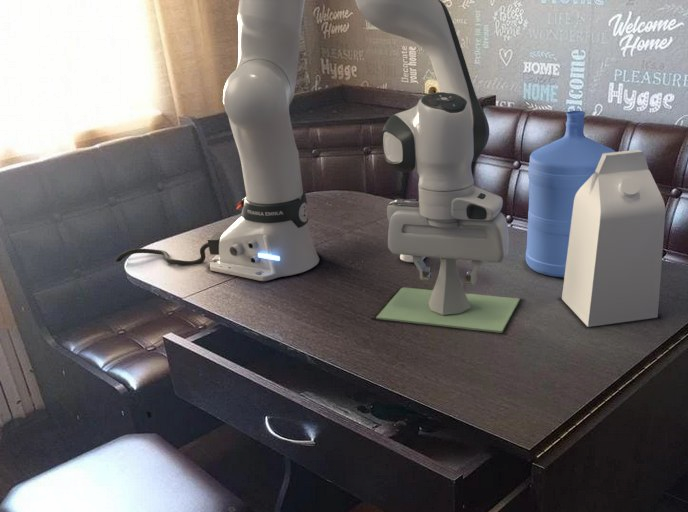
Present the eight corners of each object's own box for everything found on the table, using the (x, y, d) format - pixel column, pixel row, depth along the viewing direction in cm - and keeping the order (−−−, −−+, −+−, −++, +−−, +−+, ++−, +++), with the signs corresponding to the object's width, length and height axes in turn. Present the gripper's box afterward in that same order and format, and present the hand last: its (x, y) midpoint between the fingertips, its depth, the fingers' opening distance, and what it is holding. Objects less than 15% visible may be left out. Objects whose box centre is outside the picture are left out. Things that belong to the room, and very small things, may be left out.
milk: (626, 290, 136) (642, 140, 123) (657, 317, 126) (678, 157, 113) (561, 298, 135) (570, 147, 121) (587, 327, 125) (600, 166, 112)
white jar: (425, 254, 157) (400, 255, 157) (424, 240, 156) (399, 241, 156) (425, 263, 153) (400, 264, 153) (424, 249, 151) (399, 250, 152)
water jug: (625, 271, 143) (640, 115, 129) (548, 285, 140) (555, 126, 126) (583, 244, 156) (593, 99, 142) (512, 256, 153) (515, 110, 139)
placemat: (376, 319, 132) (376, 316, 132) (402, 289, 143) (402, 287, 142) (502, 333, 125) (502, 331, 125) (519, 300, 135) (519, 298, 135)
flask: (421, 304, 135) (419, 250, 130) (457, 295, 138) (457, 241, 133) (440, 319, 130) (438, 264, 124) (478, 310, 132) (478, 255, 127)
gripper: (379, 203, 125) (384, 282, 132) (503, 211, 118) (501, 293, 125) (392, 192, 130) (397, 268, 137) (512, 198, 123) (510, 278, 130)
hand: (448, 280), depth 131 cm, fingers open, 7 cm apart
